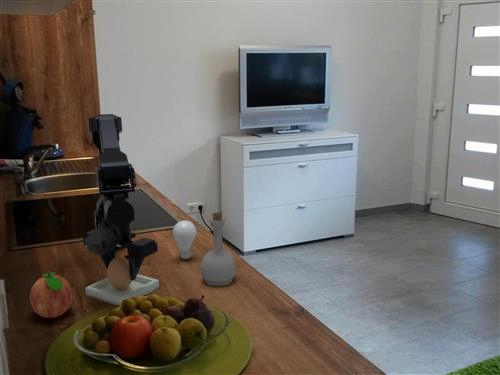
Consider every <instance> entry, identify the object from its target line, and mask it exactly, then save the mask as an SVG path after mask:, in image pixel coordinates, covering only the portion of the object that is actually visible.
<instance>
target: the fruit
mask: <svg viewBox="0 0 500 375" xmlns="http://www.w3.org/2000/svg"><path fill="white" fill-rule="evenodd" d="M41 276H42V277H40V278H39V279H37V280H36V281H35V282H34V284H33V285H32V287H31V290H30V295H29V303H30V306H31V308H32V310H33V311H34V312H35V313H36V314H37V315H38V316H40V317H42V318H45V319H54V318H57V317H60V316H62V315H63V314H65V313H66V312H67V311H68V310H69V308H70V306H71V305H72V302H73V297H74V296H73V289H72V287H71V284H70V283H69V282H68V280H67V279H66V278H64V277H62V276H60V275H58V274H57V272H51V271H49V270H48V271H47V273H46V272H45V273H43V274H41Z"/></svg>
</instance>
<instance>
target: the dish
mask: <svg viewBox="0 0 500 375" xmlns="http://www.w3.org/2000/svg"><path fill="white" fill-rule="evenodd" d="M159 288H160V281H159V279H156V278H153V277H149V276H145V275H141V274H139V273H138V274H137V277H136V279H135V280H133V281H132V282H131V284H130V285H129V286H128V287H127V288H125V289H122V290H120V289H116V288H114V287H113V286H111V284H110V283H109V281H108V278H107V277H105V278H103V279H101V280H99V281H96V282H95V283H92V284H90V285H88V286H85V287H84V289H85V296H86V297H88V298H93V299H95V300H98V301H102V302H105V303H108V304H111V305H113V306H117V305H119V304H121V303H122V301H123V300H125V299H128V298H131V297H136V296H142V295H145V296H147V295H149V294H151V293H152V292H154V291H156V290H157V289H159Z"/></svg>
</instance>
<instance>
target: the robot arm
mask: <svg viewBox="0 0 500 375" xmlns="http://www.w3.org/2000/svg"><path fill="white" fill-rule="evenodd" d="M122 123H123V121H122V117H121V116H117V114H114V113H107V114H106V113H102V114H97V115H95V116H94V115H93V116H92V117H90V118H88V119H87V130H88V135H91V141H92V143H93V145H94V146H95V147H96V149H97V151H98V165H96V166H95V169H96V178H97V179H96V180H97V187H98V188H97V189H98V194H99V196H100V197H99V198H98V200H97V201H96V210H94V223H95V224H94V225H95V229H93V230H90V231H86V232H85V233H84V235H83V237H82V242H83V243H82V244H83V246H86V247H87V250H88V252H89V253H91V254H96V255H98V256H100V258H101V260H102V262H103V264H104V267H105V268H106V269H105V270H107V269H108V266H109V264H110V262H111V261H112V260H113V259H114V258H116V252H118V251H121V250H123V249H126V250H127V255H124V256H123V258H124V259H126V260H127V261H128V262H129V271H130V277H131V280H132V281H133V280H135V279H136V277H137V274H138V275H139V271H140V269H141V267H142V264H143V262H144V260H145V259H146V258H147V257H149V256H151V255H153V254H155V253H158V250H159V249H158V247H159V246H158V241H156V240H154V239H151V238H146V237H141V238H139V239H137V240H132V239H134V238H136V232H132V222H134V221H135V208H134V206H133V204H132V201H131V200H130V193H135V191H136V189H135V188H137V185H138V184H137V183H138V182H137V179H136V177H137V176H136V172H135V168H134V167H133V164H132V163H129V158H128V155H127V154H126V153H124V152H123V151H122V150H121V148H120V134H121V133H122V132H123V124H122Z"/></svg>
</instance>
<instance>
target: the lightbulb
mask: <svg viewBox="0 0 500 375" xmlns="http://www.w3.org/2000/svg"><path fill="white" fill-rule="evenodd" d="M172 229H173V230H172V235H173V238H174V240H175V241H176V242H177V244H178V247H179V250H180V258H181V259H183V260H185V261H187V260H189V259H190V258H191V257H192V256H191V248H192V245H193V244H192V243H193V242H194V240H195V238H196V237H197V228H196V226H195V224H194V223H193V222H191V221H190V220H181V221H178V222H177V223H176V224H174V227H173V228H172Z"/></svg>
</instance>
